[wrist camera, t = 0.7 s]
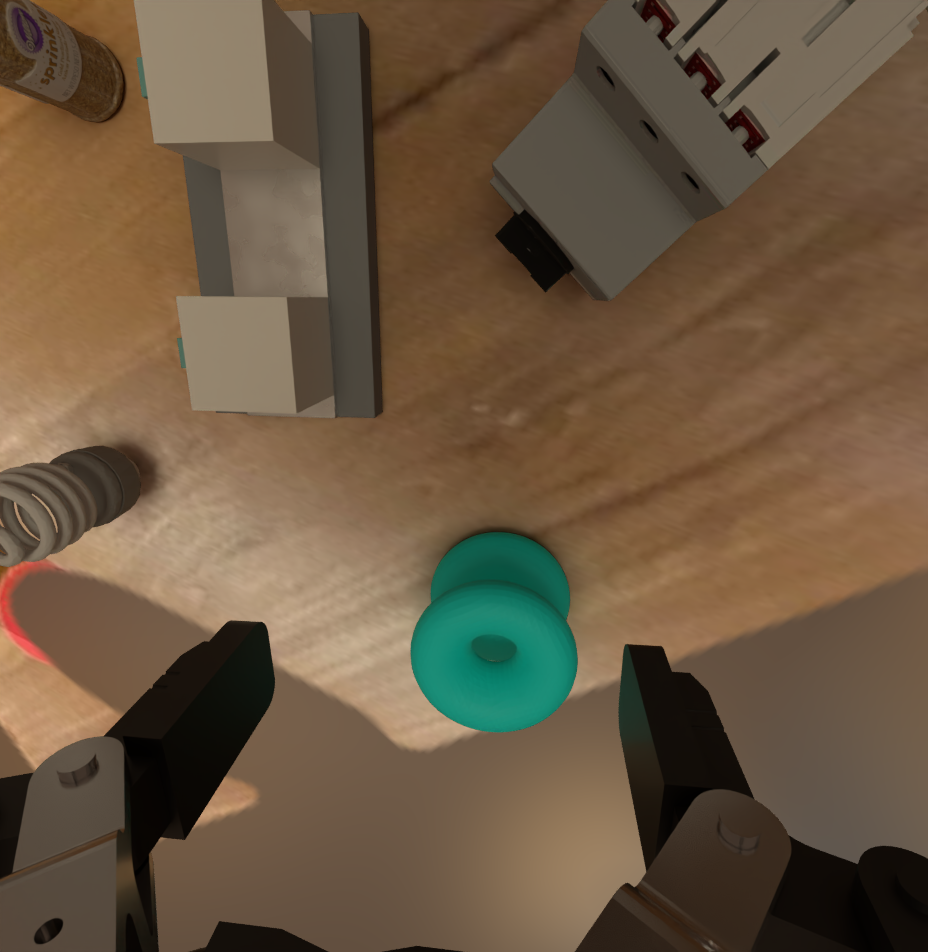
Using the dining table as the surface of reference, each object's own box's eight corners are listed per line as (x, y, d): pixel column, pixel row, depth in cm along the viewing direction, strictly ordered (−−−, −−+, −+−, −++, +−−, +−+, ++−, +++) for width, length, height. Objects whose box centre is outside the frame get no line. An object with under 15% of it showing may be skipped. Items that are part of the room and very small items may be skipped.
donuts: (537, 571, 30) (605, 716, 32) (536, 505, 39) (589, 621, 42) (376, 629, 32) (450, 761, 34) (411, 553, 42) (468, 661, 44)
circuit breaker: (484, 227, 34) (450, 178, 20) (675, 23, 30) (805, -223, 16) (565, 319, 35) (588, 334, 21) (762, 134, 31) (955, -3, 17)
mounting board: (186, 37, 33) (165, 21, 31) (368, 29, 32) (358, 12, 30) (231, 406, 40) (216, 412, 38) (382, 411, 38) (374, 417, 36)
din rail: (208, 19, 31) (202, 15, 30) (313, 14, 30) (309, 10, 30) (251, 413, 37) (247, 415, 37) (337, 416, 37) (335, 418, 36)
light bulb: (179, 494, 42) (49, 567, 31) (117, 511, 43) (-30, 587, 32) (147, 424, 41) (-2, 473, 29) (84, 443, 42) (-83, 497, 30)
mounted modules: (193, 48, 31) (116, -8, 25) (311, 43, 30) (260, -16, 24) (233, 392, 37) (178, 409, 31) (333, 395, 36) (296, 413, 30)
